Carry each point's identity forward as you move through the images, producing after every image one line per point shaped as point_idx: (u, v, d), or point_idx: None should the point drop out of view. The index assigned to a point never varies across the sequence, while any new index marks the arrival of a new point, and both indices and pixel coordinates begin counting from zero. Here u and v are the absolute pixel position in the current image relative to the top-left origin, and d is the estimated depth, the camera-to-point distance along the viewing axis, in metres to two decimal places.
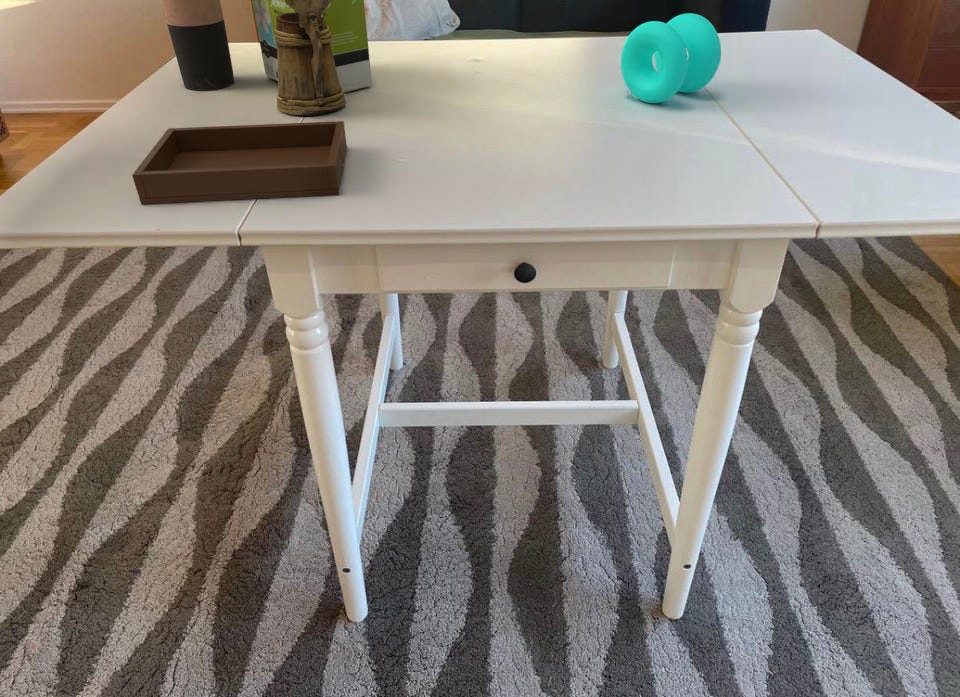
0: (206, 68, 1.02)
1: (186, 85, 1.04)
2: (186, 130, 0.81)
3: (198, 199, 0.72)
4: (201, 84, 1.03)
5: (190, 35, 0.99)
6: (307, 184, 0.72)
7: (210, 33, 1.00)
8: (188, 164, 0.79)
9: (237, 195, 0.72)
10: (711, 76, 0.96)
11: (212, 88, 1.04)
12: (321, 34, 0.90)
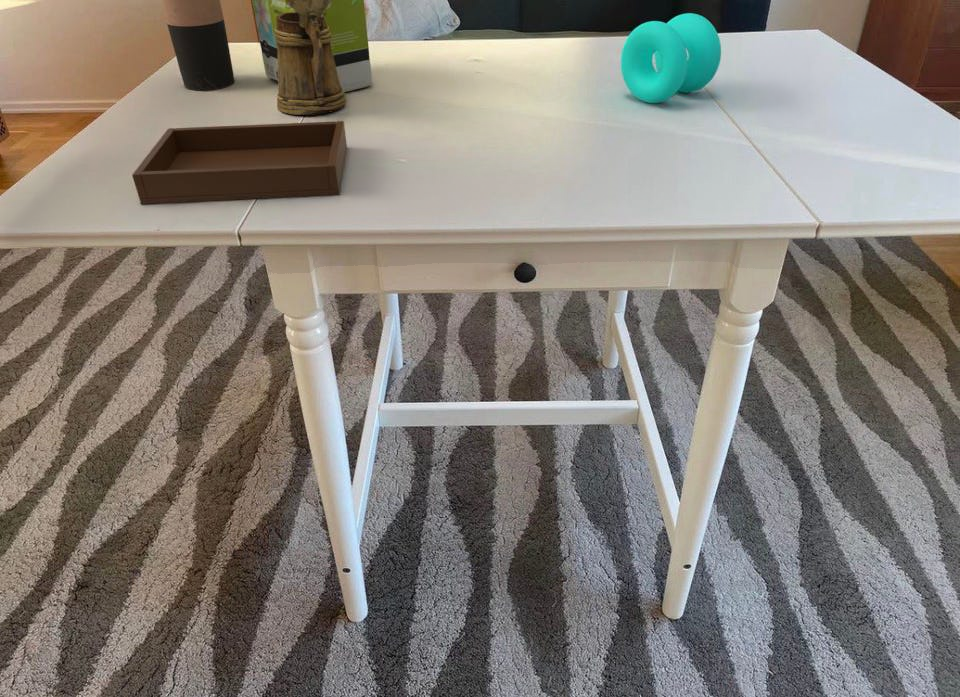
0: (206, 68, 1.02)
1: (186, 85, 1.04)
2: (186, 130, 0.81)
3: (198, 199, 0.72)
4: (201, 84, 1.03)
5: (190, 35, 0.99)
6: (307, 184, 0.72)
7: (210, 33, 1.00)
8: (188, 164, 0.79)
9: (237, 195, 0.72)
10: (711, 76, 0.96)
11: (212, 88, 1.04)
12: (321, 34, 0.90)
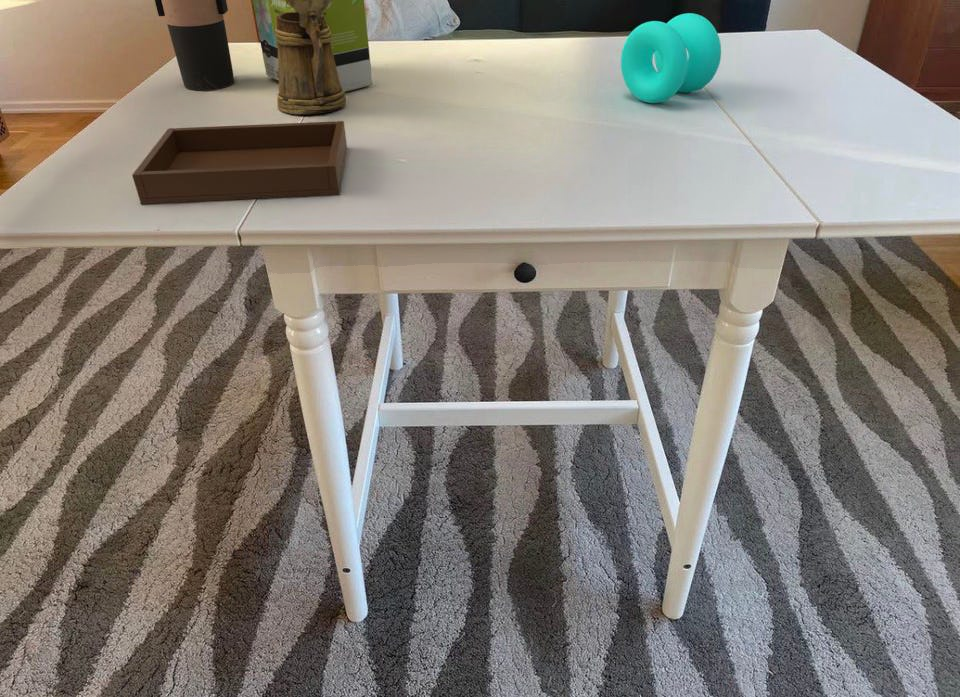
0: (206, 68, 1.02)
1: (186, 85, 1.04)
2: (186, 130, 0.81)
3: (198, 199, 0.72)
4: (201, 84, 1.03)
5: (190, 35, 0.99)
6: (307, 184, 0.72)
7: (210, 33, 1.00)
8: (188, 164, 0.79)
9: (237, 195, 0.72)
10: (711, 76, 0.96)
11: (212, 88, 1.04)
12: (321, 34, 0.90)
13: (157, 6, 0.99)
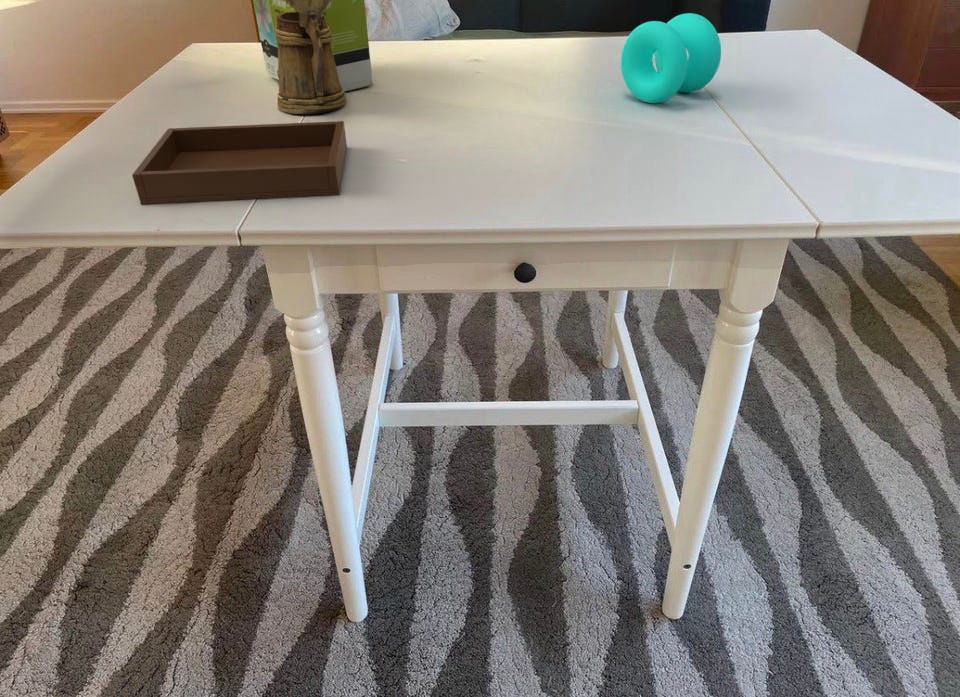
0: None
1: None
2: (186, 130, 0.81)
3: (198, 199, 0.72)
4: None
5: None
6: (307, 184, 0.72)
7: None
8: (188, 164, 0.79)
9: (237, 195, 0.72)
10: (711, 76, 0.96)
11: None
12: (321, 33, 0.91)
13: None
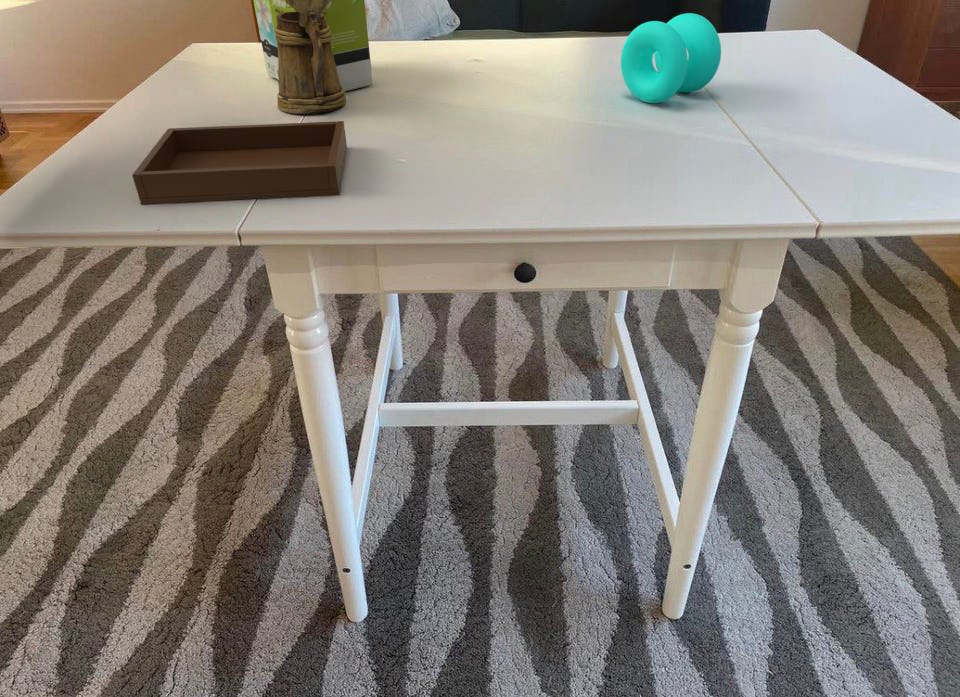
0: None
1: None
2: (186, 130, 0.81)
3: (198, 199, 0.72)
4: None
5: None
6: (307, 184, 0.72)
7: None
8: (188, 164, 0.79)
9: (237, 195, 0.72)
10: (711, 76, 0.96)
11: None
12: (321, 33, 0.91)
13: None
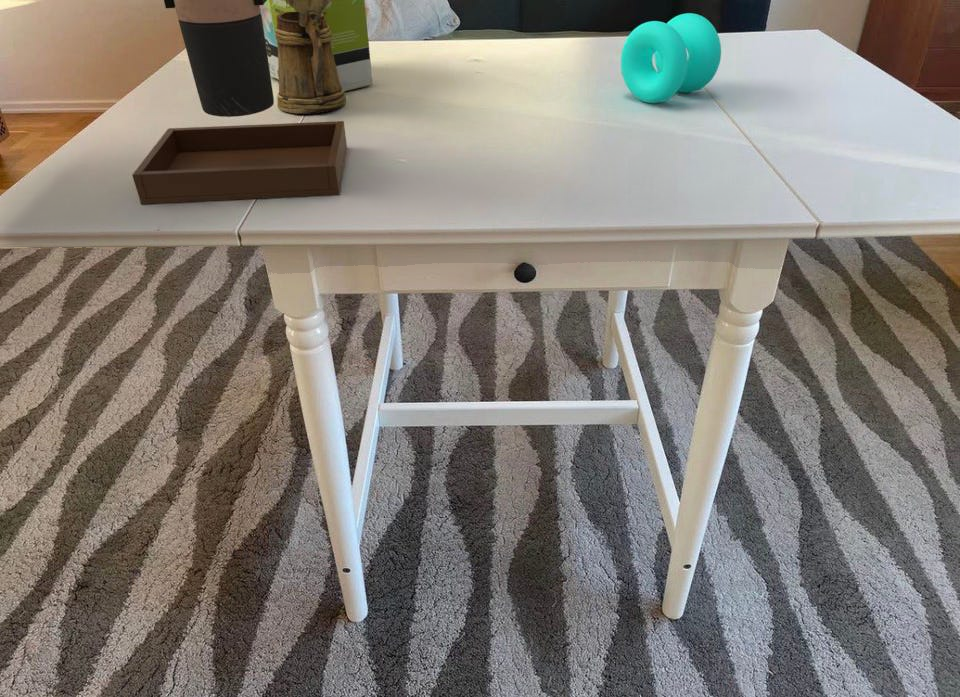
0: (235, 84, 0.69)
1: (205, 109, 0.72)
2: (186, 130, 0.81)
3: (198, 199, 0.72)
4: (227, 107, 0.71)
5: (213, 36, 0.67)
6: (307, 184, 0.72)
7: (242, 33, 0.67)
8: (188, 164, 0.79)
9: (237, 195, 0.72)
10: (711, 76, 0.96)
11: (243, 113, 0.71)
12: (321, 33, 0.91)
13: None
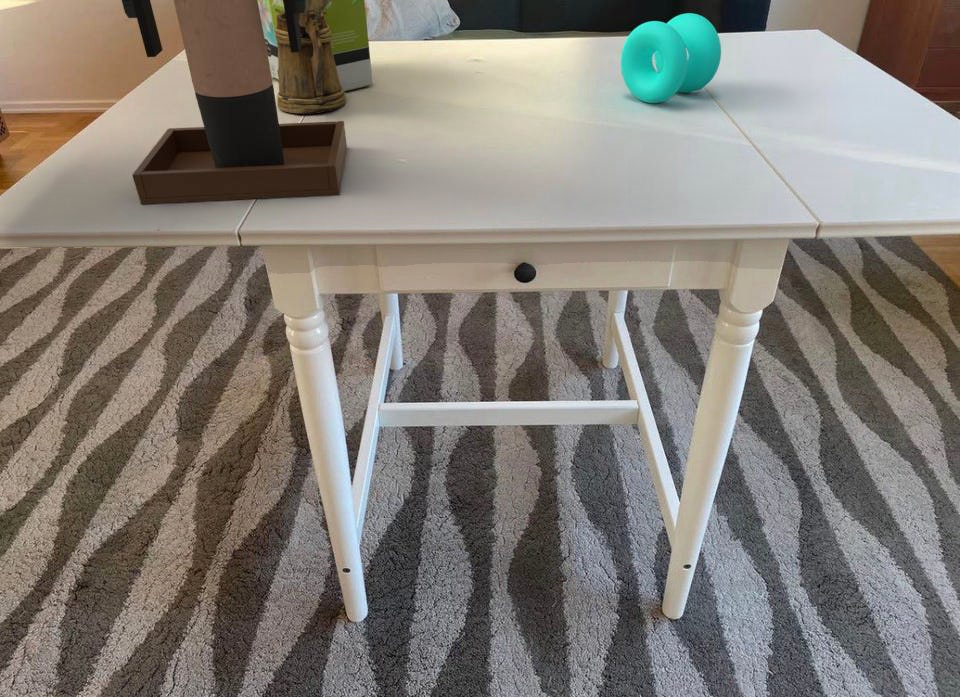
0: (248, 151, 0.73)
1: None
2: (186, 130, 0.81)
3: (198, 199, 0.72)
4: None
5: (228, 109, 0.70)
6: (307, 184, 0.72)
7: (255, 105, 0.71)
8: (188, 164, 0.79)
9: (237, 195, 0.72)
10: (711, 76, 0.96)
11: None
12: (321, 33, 0.91)
13: (145, 43, 0.69)
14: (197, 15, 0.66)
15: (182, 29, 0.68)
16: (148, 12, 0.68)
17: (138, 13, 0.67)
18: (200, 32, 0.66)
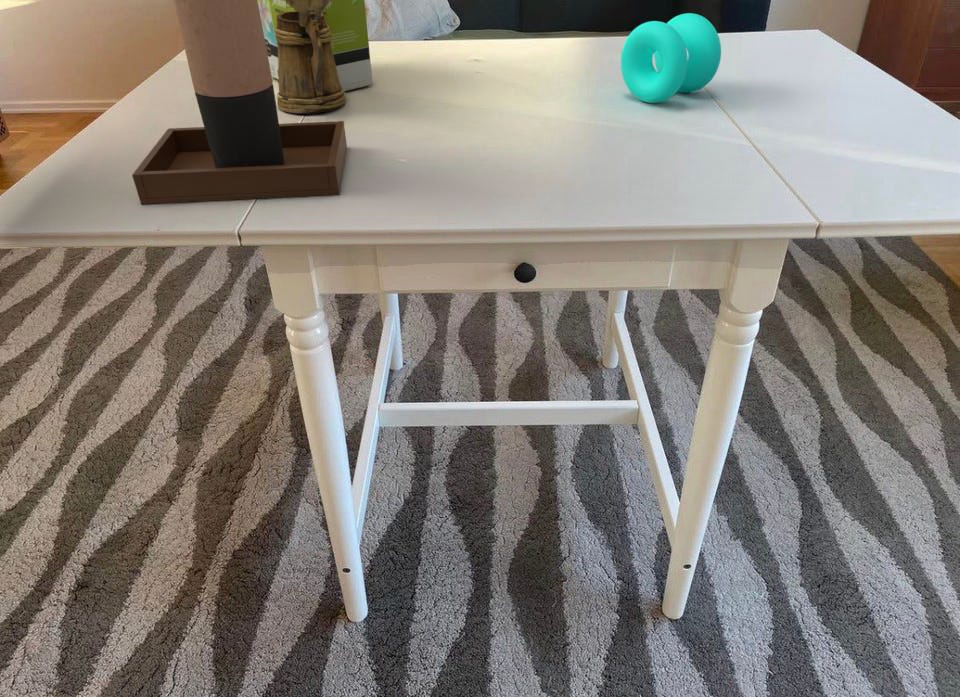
0: (248, 151, 0.73)
1: None
2: (186, 130, 0.81)
3: (198, 199, 0.72)
4: None
5: (228, 109, 0.70)
6: (307, 184, 0.72)
7: (255, 105, 0.71)
8: (188, 164, 0.79)
9: (237, 195, 0.72)
10: (711, 76, 0.96)
11: None
12: (321, 33, 0.91)
13: None
14: (197, 15, 0.66)
15: (182, 29, 0.68)
16: None
17: None
18: (200, 32, 0.66)
